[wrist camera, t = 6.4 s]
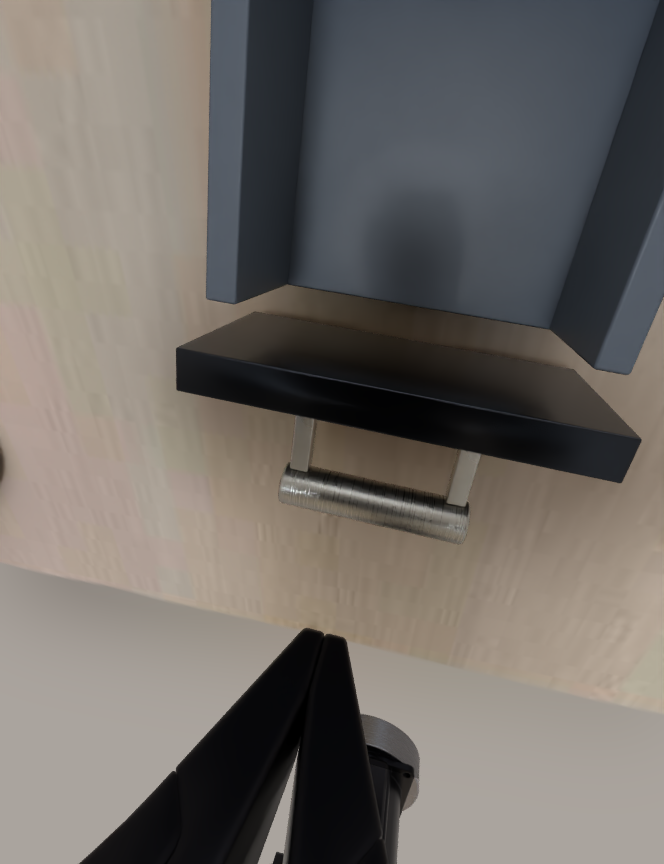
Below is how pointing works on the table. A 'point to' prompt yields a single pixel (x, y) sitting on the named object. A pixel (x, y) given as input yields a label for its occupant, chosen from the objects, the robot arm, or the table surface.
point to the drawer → (434, 226)
